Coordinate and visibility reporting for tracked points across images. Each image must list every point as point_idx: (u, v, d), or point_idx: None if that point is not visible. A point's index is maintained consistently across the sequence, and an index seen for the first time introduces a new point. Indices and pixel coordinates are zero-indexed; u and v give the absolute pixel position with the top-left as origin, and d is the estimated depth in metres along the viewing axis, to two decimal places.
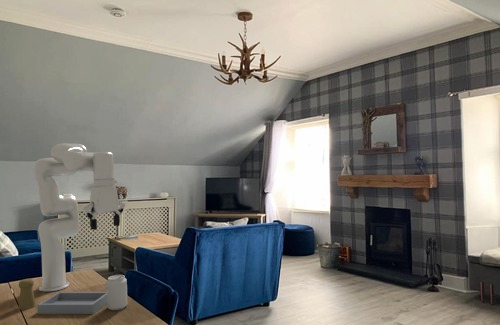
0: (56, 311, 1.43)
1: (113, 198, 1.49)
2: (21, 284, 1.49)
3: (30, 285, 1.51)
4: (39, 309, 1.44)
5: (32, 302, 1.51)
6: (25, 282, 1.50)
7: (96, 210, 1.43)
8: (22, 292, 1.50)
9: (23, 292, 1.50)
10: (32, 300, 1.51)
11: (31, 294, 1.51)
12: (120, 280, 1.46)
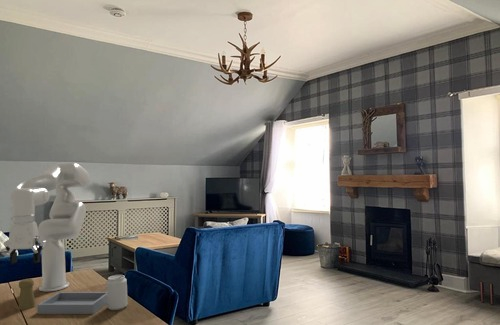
0: (56, 311, 1.43)
1: None
2: (21, 284, 1.49)
3: (30, 285, 1.51)
4: (39, 309, 1.44)
5: (32, 302, 1.51)
6: (25, 282, 1.50)
7: None
8: (22, 292, 1.50)
9: (23, 292, 1.50)
10: (32, 300, 1.51)
11: (31, 294, 1.51)
12: (120, 280, 1.46)
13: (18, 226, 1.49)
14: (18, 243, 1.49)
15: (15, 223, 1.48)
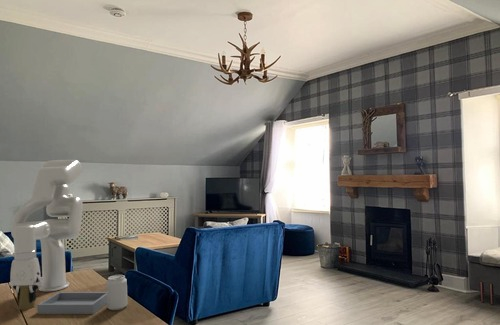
0: (56, 311, 1.43)
1: None
2: None
3: None
4: (39, 309, 1.44)
5: (32, 302, 1.51)
6: None
7: None
8: (22, 292, 1.50)
9: (23, 292, 1.50)
10: None
11: None
12: (120, 280, 1.46)
13: (19, 263, 1.49)
14: (19, 280, 1.49)
15: (16, 260, 1.48)
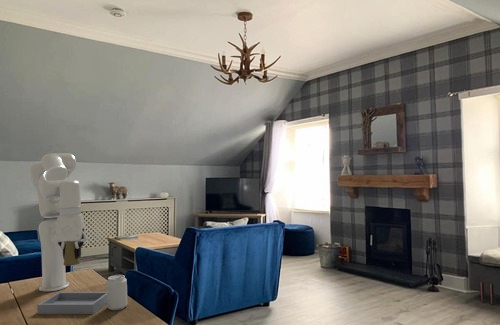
0: (56, 311, 1.43)
1: None
2: None
3: None
4: (39, 309, 1.44)
5: None
6: None
7: None
8: (67, 248, 1.48)
9: (69, 248, 1.48)
10: None
11: None
12: (120, 280, 1.46)
13: (65, 218, 1.47)
14: (65, 236, 1.47)
15: (62, 215, 1.47)
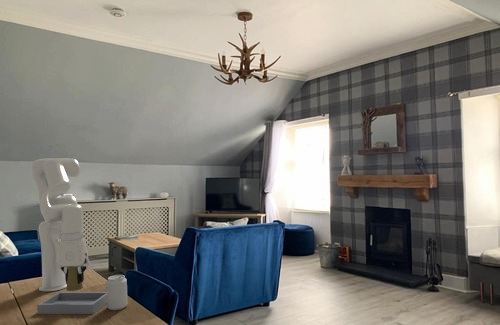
0: (56, 311, 1.43)
1: None
2: None
3: None
4: (39, 309, 1.44)
5: (80, 283, 1.49)
6: None
7: None
8: (70, 273, 1.48)
9: (72, 273, 1.48)
10: None
11: None
12: (120, 280, 1.46)
13: (68, 243, 1.47)
14: (68, 261, 1.47)
15: (65, 240, 1.47)
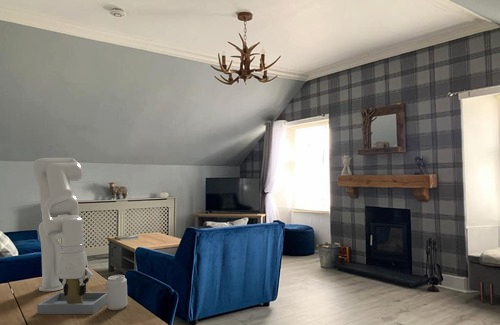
0: (56, 311, 1.43)
1: None
2: (69, 281, 1.48)
3: (78, 282, 1.49)
4: (39, 309, 1.44)
5: (80, 299, 1.49)
6: (73, 279, 1.48)
7: None
8: (70, 289, 1.48)
9: (72, 289, 1.48)
10: (80, 297, 1.49)
11: (79, 291, 1.49)
12: (120, 280, 1.46)
13: (68, 256, 1.47)
14: (68, 273, 1.47)
15: (65, 253, 1.47)
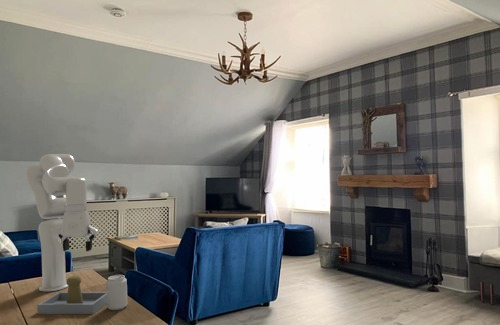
0: (56, 311, 1.43)
1: None
2: (69, 281, 1.48)
3: (78, 282, 1.49)
4: (39, 309, 1.44)
5: (80, 299, 1.49)
6: (73, 279, 1.48)
7: None
8: (70, 289, 1.48)
9: (72, 289, 1.48)
10: (80, 297, 1.49)
11: (79, 291, 1.49)
12: (120, 280, 1.46)
13: (71, 214, 1.51)
14: (71, 231, 1.51)
15: (69, 211, 1.50)
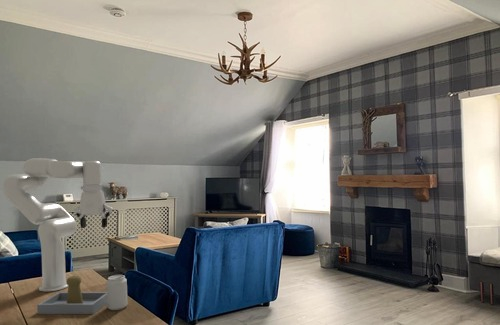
0: (56, 311, 1.43)
1: None
2: (69, 281, 1.48)
3: (78, 282, 1.49)
4: (39, 309, 1.44)
5: (80, 299, 1.49)
6: (73, 279, 1.48)
7: None
8: (70, 289, 1.48)
9: (72, 289, 1.48)
10: (80, 297, 1.49)
11: (79, 291, 1.49)
12: (120, 280, 1.46)
13: (88, 194, 1.66)
14: (88, 209, 1.66)
15: (86, 191, 1.65)
